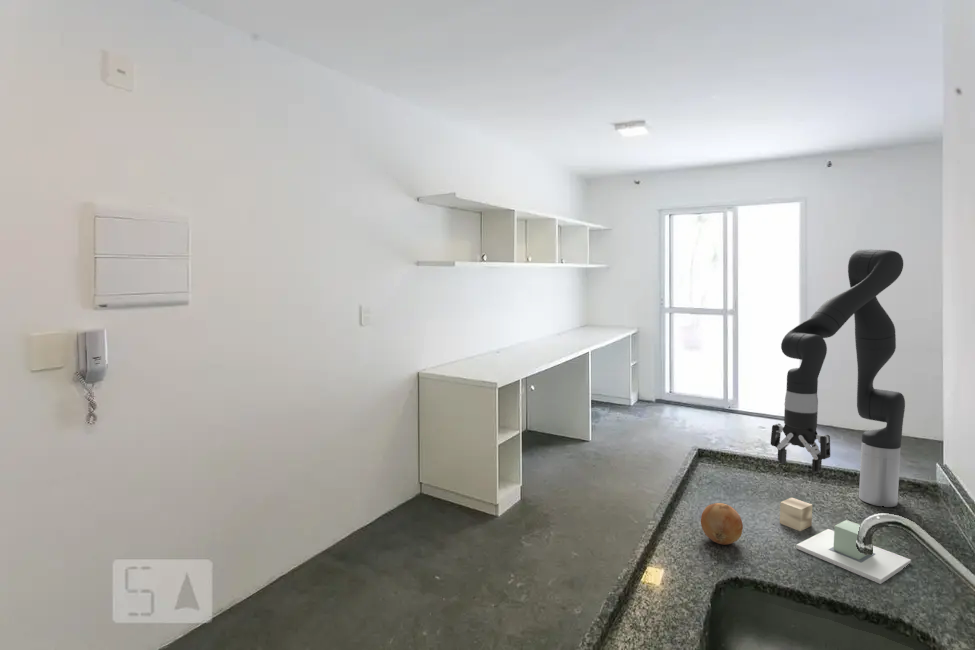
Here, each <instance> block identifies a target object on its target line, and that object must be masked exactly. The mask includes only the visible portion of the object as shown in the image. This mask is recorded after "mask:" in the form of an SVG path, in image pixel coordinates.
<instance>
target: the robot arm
mask: <svg viewBox="0 0 975 650" xmlns="http://www.w3.org/2000/svg"><path fill="white" fill-rule="evenodd" d="M903 269H904V259H903V256H902V254H900V252H898V251H895V250H892V249H891V250H890V249H871V248H870V249H866V248H865V249H857V250H855V251H854V252H852V254H851V255H850V257H849V259H848V265H847V273H848V274H847V275H848V281H849V286H850V287H849V288H848V289H846V290H843V291H842V292H839V293H837V294H836V295H833V296H832V297H830V298H829V299H827V300H826V301H825V302H824V303H823V304H822V305H820V306H819V307H818V309H817V310H815V312H814V313H813V314H811V316H810V317H809V318H808V319H806V320H804V321H803V322H801V323H800V324H798V325H797V326H794V328H792V329H791V330H789V331H788V332H787V333H786V334H785V335H784V337H783V338H782V340H781V343H780V345H781V346H780V348H781V352H782V353H783V354H784V356H786V357H788V358H790V359H794V360H795V359H796V360H800V361H801V363H800V365H799V367H794V368H791V369H789V370H788V371H787V374H786V390H785V391H786V392H785V398H784V404H783V405H784V412H783V413H784V416H783V417H784V419H783V423H784V425H782V424H780V423H776V424H772V426H771V432H770V433H771V434H770V436H771V437H770V445H771V447H775V448H776V449H777V461H778V462H779V464H780V465H783V464H786V463H787V449H786V448H787V447H788V446H789V445H790V444H791V445H792V446H798V447H800V448H805V449H806V450H807V452H808V453H810V455H811V457H812V460H811V464H812V465H811V473H812V474H818V473H819V472H821V470H822V461H823V460H827V459H829V458H830V457H831V436H830V435H829V434H818V432H817V428H818V413H819V412H818V408H819V398H818V386H819V385H818V383H819V380H818V379H819V377H820V376H819V375H820V372H821V371H822V367H823V364H824V362H825V359H826V357H827V353H828V347H827V343H826V340H825V339H828V338H831V337H833V336H834V335H835V334H837V332H838V331H840V330H841V328H842V327H843V326H844V325H845V324H846V323H847V321H848V320H849V319H850V318H851V317H852V316H853V315H854V316H853V317H854V336H855V337H854V339H855V350H856V362H857V385H856V387H857V388H856V389H857V390H856V392H857V393H856V408H857V413H858V415H859V417H860V418H862V419H865V420H870V421H876V422H882V423H886V426H885V427H883V428H879V429H871V430H870V429H868V430H865V431H864V432H863V433H862V434H861V445H860V446H861V448H860V466H859V467H860V469H859V470H860V471H859V489H858V498H859V500H861V501H863V502H864V503H867V504H870V505H873V506H877V507H882V506H884V507H885V508H893V507H896V506H898V503H899V502H898V500H899V497H898V496H899V487H900V486H899V483H900V466H901V450H902V449H901V448H902V447H901V445H902V436H903V435H902V434H903V425H904V417H905V410H906V409H905V408H906V401H905V396H904V395H903V394H902V392H899V391H892V390H885V389H878V388H874V380H875V378H876V376H877V375H878V373H879V371H881V370H882V368H883V367H884V366H885V365H886V364H887V363H888V361H890V359H891V358H892V357H893V355H894V353H895V352H896V348H897V345H896V344H897V343H896V342H897V340H896V339H897V338H896V336H897V335H896V327H895V324H894V322H893V321H892V319H891V317H890V316H889V314H888V313H887V311H886V310H885V309H884V308H883V306H882V304H881V303H880V301H879V300H878V298H877V296H878V295H880V293H882V292H883V291H884V290H886V289H887V288H888V287H890V286H891V285H892V284H893V283H894V282H896V280H898V279H899V277H900V276H901V274H902V272H903ZM782 433H784V436H785V437H784V438H783V439H782V440H781V434H782ZM816 440H818V443H819V444H820V445H819V446H818V444H817V442H816ZM819 447H820V448H819Z"/></svg>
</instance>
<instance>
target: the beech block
mask: <svg viewBox="0 0 975 650" xmlns="http://www.w3.org/2000/svg"><path fill="white" fill-rule="evenodd" d="M779 504H780V505H779V506H780V507H779V524H781V525H783V526H785V527H789V528H791V529H794V530H796V531H798V532H802V531H804V530H806V529H808V528H810V527H812V521H813V504H812V503H808V502H806V501H803V500H800V499H797V498H794V497H789V498H787V499H785V500H782V501H780V503H779Z"/></svg>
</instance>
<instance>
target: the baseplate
mask: <svg viewBox="0 0 975 650" xmlns="http://www.w3.org/2000/svg"><path fill="white" fill-rule="evenodd" d="M795 548H796V549H797V550H799V551H802V552H804V553H806V554H809V555H810V556H813V557H815V558H817V559H820V560H823V561H825V562H828V563H830V564H832V565H835V566H836V567H839V568H842V569H844V570H846V571H849V572H851V573H853V574H856V575H858V576H860V577H863V578H865V579H868V580H870V581H873V582H875V583H877V584H880V585H881V584H882V583H884V582H886V581H887V580H889V579H890V578H892V577H893V576H894V575H896V574H898V573H899V572H901V571H902V570H903V568H904V567H905V568H907V567H908V566H909V565H908V564H909V563H910V562H911V563H912V559H910V558H908V557H905V556H902V555H899V554H897V553H894V552H893V551H889V550H886V549H883V548H881V547H878V546H875V545H873V554H872V555H866V556H865V557H863V558H861V559H859V560H858V559H856V558H853V557H851V556H848V555H846V554H843V553H841V552H838V551H836V550H833V549H834V529H833V530H832V529H830V528H826V529H825V530H823V531H821V532H819V533H817V534H815V535H813V536H811V537H808V538H807V539H805V540H802V541H801V542H799V543H796V547H795ZM907 565H908V566H907ZM906 566H907V567H906ZM905 568H904V569H905Z"/></svg>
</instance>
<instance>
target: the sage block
mask: <svg viewBox="0 0 975 650" xmlns="http://www.w3.org/2000/svg"><path fill="white" fill-rule="evenodd" d="M860 525H861V524H860V523H859V524H858V523H856V522H853V521H850V520H847V519H846V520H843V521H841V522H839V523H837V524H836V525H834V529H833V531H834V549H833V550H836V551H838V552H841V553H843V554H846V555H848V556H851V557H853V558H856V559H858V560H859V559H861V558H863V557H865V556H866V555H864V554H862V553H860V552H859V551H858V549H857V547H856V540H857V535H858V531H859V527H860Z"/></svg>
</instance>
